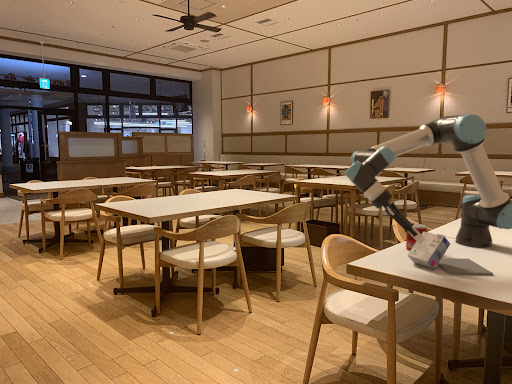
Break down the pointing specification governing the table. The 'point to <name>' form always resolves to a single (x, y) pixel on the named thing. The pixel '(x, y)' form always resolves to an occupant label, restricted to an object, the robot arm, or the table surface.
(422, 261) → the ink cartridge box
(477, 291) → the table surface
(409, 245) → the canned food
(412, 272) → the table surface
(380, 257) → the table surface
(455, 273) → the rubber mat
